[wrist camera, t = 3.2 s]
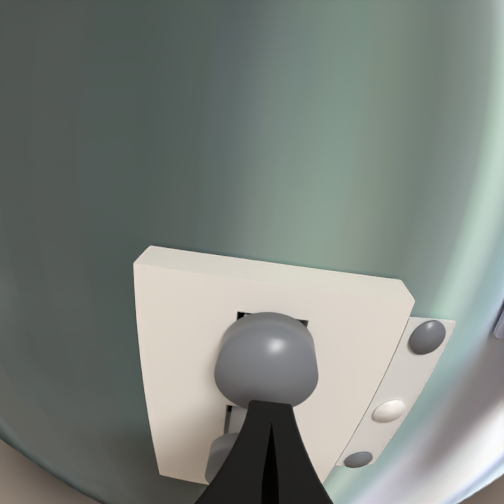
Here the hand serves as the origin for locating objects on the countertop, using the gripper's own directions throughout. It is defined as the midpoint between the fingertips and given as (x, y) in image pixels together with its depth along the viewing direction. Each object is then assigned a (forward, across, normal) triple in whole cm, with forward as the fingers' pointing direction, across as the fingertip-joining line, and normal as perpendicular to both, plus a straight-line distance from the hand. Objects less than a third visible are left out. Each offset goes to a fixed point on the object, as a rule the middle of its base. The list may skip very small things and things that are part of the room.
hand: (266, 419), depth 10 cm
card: (+6, -9, +6) cm, 12 cm away
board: (+6, 0, +6) cm, 9 cm away
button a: (+6, 0, 0) cm, 6 cm away
